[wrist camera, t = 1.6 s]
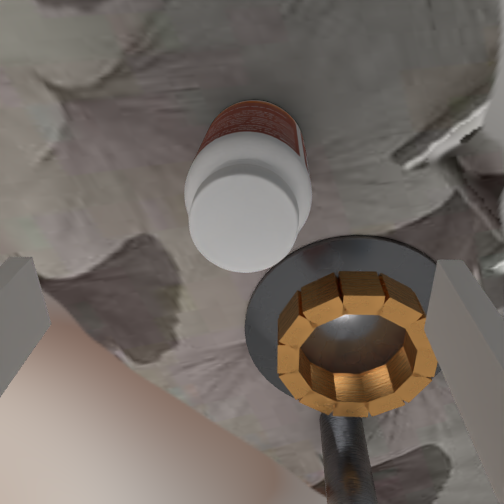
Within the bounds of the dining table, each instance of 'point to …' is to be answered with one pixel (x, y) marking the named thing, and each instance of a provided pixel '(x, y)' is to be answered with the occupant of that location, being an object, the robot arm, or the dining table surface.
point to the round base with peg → (345, 342)
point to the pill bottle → (248, 187)
